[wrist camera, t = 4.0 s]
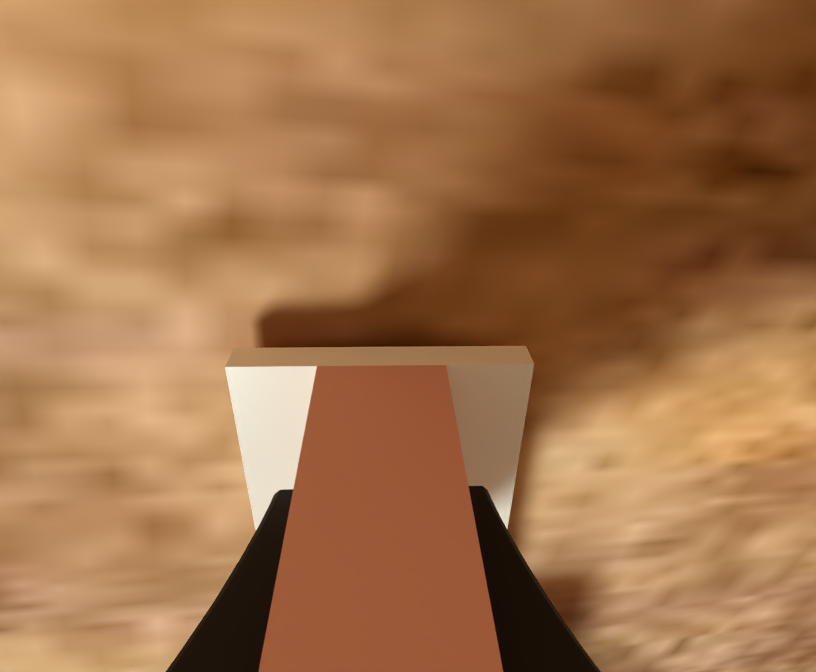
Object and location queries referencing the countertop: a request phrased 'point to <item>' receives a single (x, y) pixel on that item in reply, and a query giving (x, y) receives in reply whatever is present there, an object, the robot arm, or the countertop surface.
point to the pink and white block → (380, 498)
